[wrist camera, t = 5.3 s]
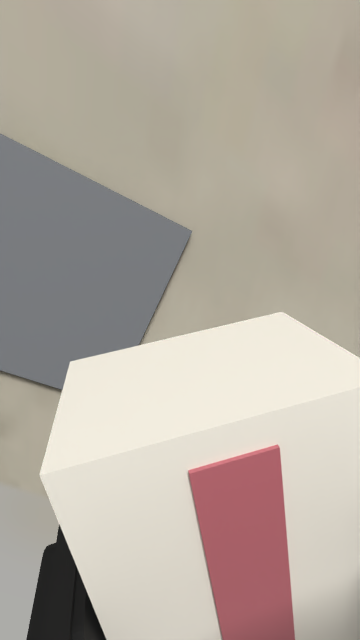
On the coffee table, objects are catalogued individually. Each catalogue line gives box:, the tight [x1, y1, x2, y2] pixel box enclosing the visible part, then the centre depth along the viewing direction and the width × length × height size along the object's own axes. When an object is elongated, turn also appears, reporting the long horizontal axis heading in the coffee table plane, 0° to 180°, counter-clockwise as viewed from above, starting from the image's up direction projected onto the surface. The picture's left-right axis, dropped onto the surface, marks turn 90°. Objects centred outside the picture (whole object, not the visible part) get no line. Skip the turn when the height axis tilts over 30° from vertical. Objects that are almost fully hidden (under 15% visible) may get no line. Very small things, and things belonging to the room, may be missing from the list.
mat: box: [0, 134, 192, 390], centre depth 21 cm, size 16×14×1 cm
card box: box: [40, 312, 360, 640], centre depth 9 cm, size 6×9×4 cm, turn 11°
